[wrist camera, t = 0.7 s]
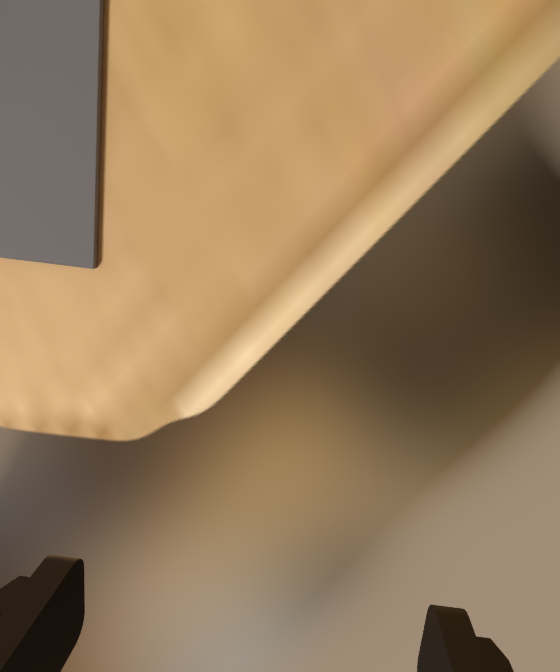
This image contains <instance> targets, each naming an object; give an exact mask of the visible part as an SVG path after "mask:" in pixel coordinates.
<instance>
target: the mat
mask: <svg viewBox="0 0 560 672" xmlns="http://www.w3.org/2000/svg"><path fill="white" fill-rule="evenodd" d="M103 5H104V0H0V257H1V258H9V259H17V260H25V261H34V262H42V263H50V264H58V265H66V266H75V267H83V268H91V269H94V268H97V237H98V199H99V160H100V121H101V83H102V44H103Z"/></svg>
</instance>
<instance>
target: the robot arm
mask: <svg viewBox="0 0 560 672" xmlns="http://www.w3.org/2000/svg"><path fill="white" fill-rule="evenodd" d="M84 607H85V604H84V562H83V560H82V559H78V558H71V557H63V556H56V555H49V556H47V557H46V558H45V559H44V560H43V562H42V563H41V564H40V566H39V567H38V568H37V569H36V571H35V572H34V573H33V574H32V576H31V577H25V576H19V577H17V578H16V579H14V580H13V581H11V582H10V583H8V584H7V585H6V586H4V587H3V588H1V589H0V672H61V670H62V668H63V666H64V664H65V663H66V661H67V659H68V657H69V655H70V654H71V652H72V650H73V648H74V647H75V645H76V643H77V640H78V638H79V636H80V633H81V629H82V626H83V621H84V613H85V610H84V609H85V608H84ZM417 672H514V671H513V669H512V667H511V664H510V662H509V660H508V659H507V658H506V656H505V655H504V654H503V653H502V652H501V650H500V649H499V648H498V647H497V646H496V645H495V643H494V642H493V641H492V640H491V639H490V638H483V637H476V635H475V633H474V630H473V627H472V624H471V622H470V619H469V616H468V614H467V612H466V611H465V610H464V609H461V608H453V607H445V606H437V605H430V606H429V608H428V611H427V615H426V620H425V625H424V631H423V636H422V641H421V646H420V651H419V656H418V665H417Z"/></svg>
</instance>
